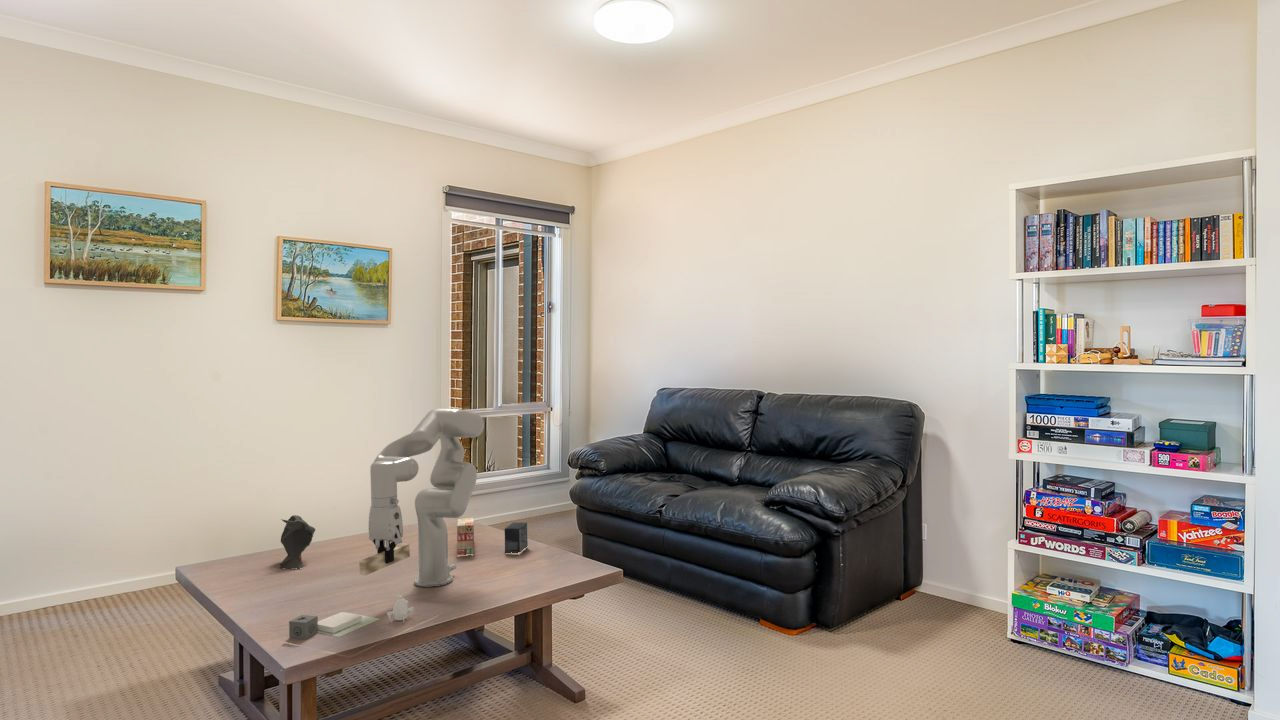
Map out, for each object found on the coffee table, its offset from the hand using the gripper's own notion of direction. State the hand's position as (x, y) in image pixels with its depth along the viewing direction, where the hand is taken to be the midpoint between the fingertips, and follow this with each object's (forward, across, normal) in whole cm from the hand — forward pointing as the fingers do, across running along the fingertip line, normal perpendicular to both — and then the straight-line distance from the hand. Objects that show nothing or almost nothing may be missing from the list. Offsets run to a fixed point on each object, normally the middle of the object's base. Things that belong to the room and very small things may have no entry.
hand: (385, 561), depth 221 cm
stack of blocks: (+16, +21, -64) cm, 69 cm away
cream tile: (+12, 0, +14) cm, 18 cm away
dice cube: (+13, +3, +28) cm, 31 cm away
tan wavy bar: (+1, 0, 0) cm, 1 cm away
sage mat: (+13, 0, +17) cm, 22 cm away
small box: (+16, +1, -69) cm, 71 cm away
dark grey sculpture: (+15, +68, -23) cm, 73 cm away
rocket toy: (+14, -13, +8) cm, 21 cm away
